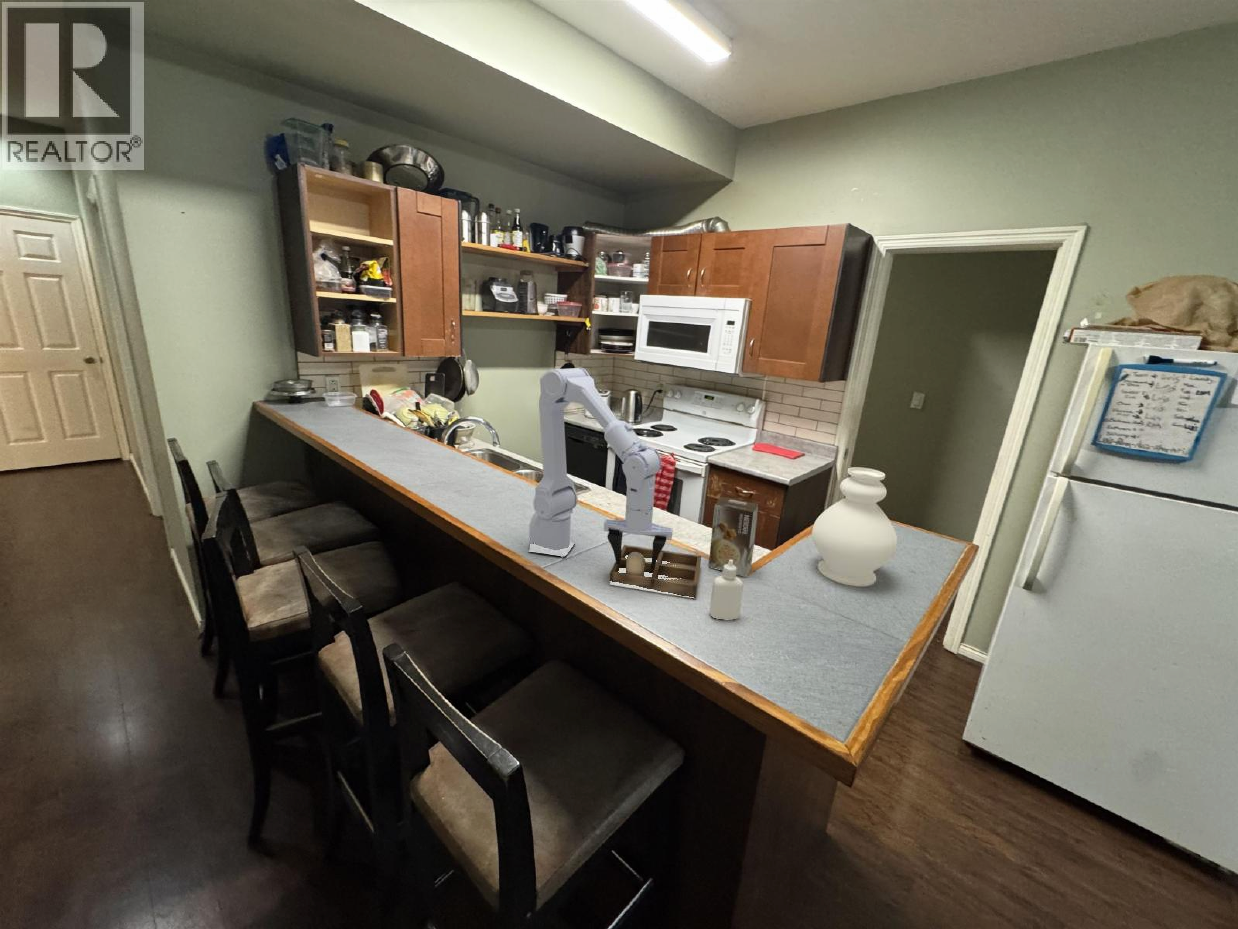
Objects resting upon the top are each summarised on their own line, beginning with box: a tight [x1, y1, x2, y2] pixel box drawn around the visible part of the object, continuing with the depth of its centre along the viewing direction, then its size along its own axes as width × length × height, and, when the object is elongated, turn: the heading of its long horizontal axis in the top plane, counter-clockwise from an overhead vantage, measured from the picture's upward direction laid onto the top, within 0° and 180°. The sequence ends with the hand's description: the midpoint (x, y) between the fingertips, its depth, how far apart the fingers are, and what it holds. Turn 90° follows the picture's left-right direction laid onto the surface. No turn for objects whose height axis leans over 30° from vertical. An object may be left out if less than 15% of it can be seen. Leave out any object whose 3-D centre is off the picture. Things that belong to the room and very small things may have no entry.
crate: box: [609, 544, 702, 599], centre depth 108 cm, size 18×14×3 cm
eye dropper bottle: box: [709, 560, 744, 621], centre depth 93 cm, size 4×6×12 cm
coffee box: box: [708, 496, 760, 578], centre depth 112 cm, size 9×6×16 cm
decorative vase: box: [811, 466, 898, 588], centre depth 112 cm, size 18×18×25 cm
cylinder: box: [626, 552, 645, 576], centre depth 106 cm, size 4×4×6 cm
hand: (635, 564), depth 106 cm, fingers open, 7 cm apart
